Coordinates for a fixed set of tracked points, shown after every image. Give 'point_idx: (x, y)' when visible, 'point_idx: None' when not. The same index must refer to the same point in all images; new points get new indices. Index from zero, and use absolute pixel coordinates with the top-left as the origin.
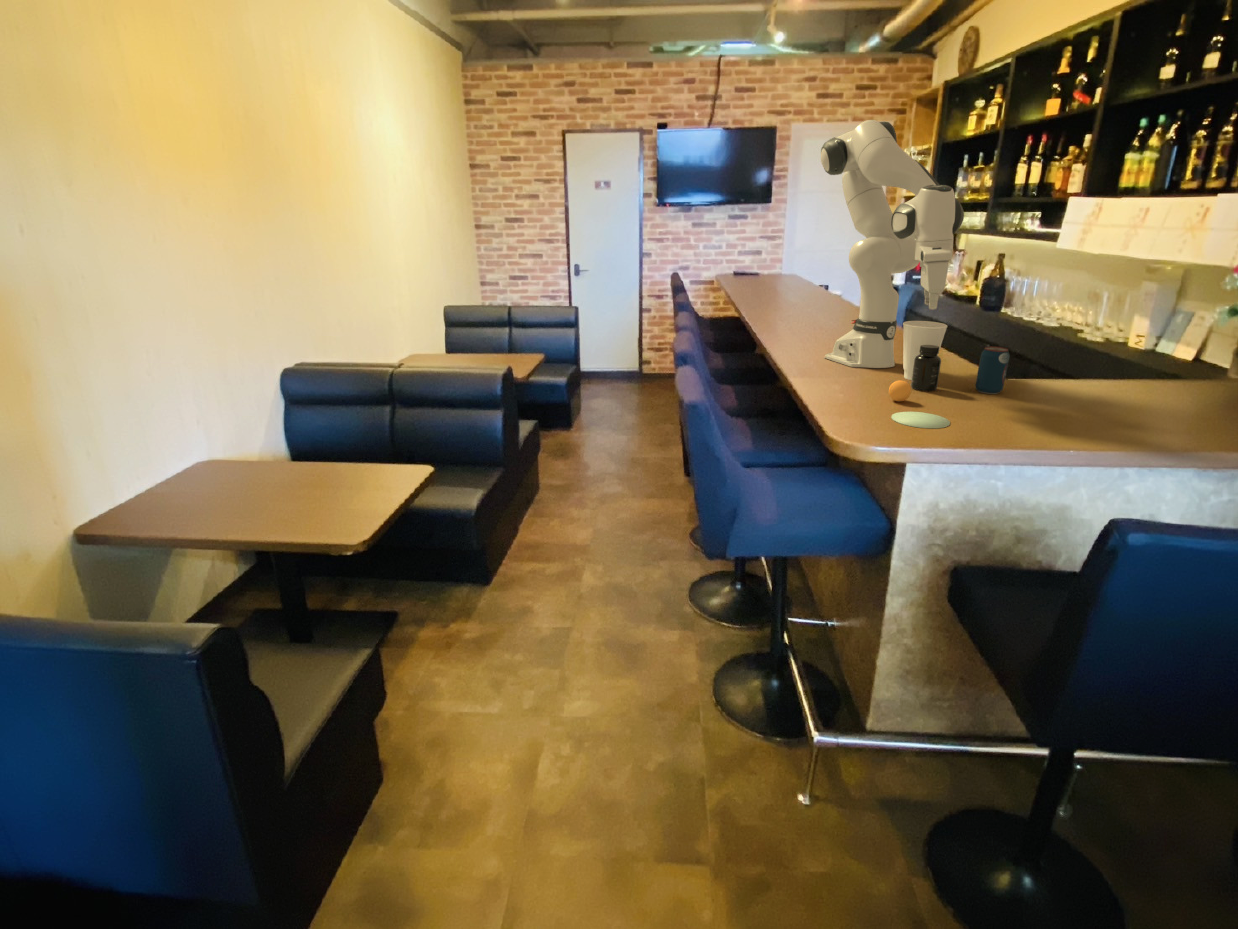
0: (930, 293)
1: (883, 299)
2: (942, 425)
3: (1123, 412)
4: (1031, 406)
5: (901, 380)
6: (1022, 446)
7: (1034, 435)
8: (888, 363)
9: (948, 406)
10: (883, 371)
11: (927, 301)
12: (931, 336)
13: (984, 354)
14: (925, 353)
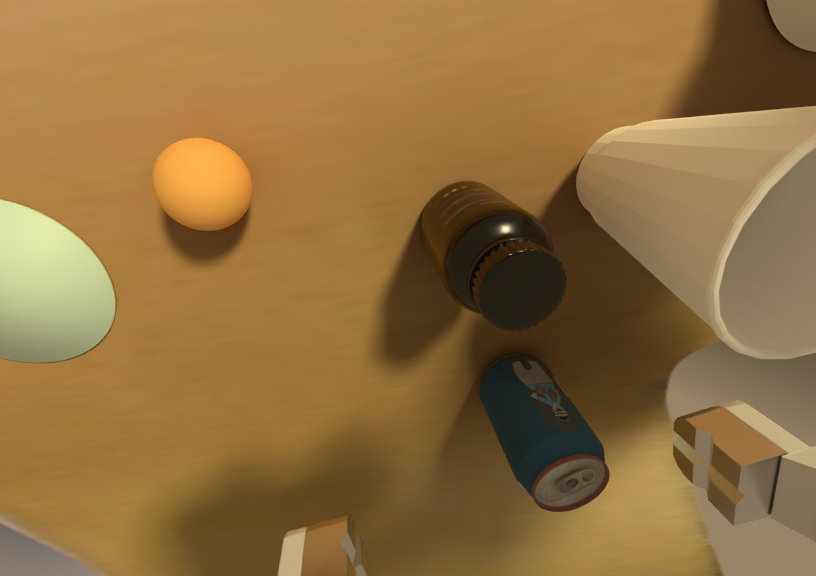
0: None
1: None
2: (2, 351)
3: (440, 565)
4: (398, 465)
5: (194, 196)
6: (5, 501)
7: (128, 502)
8: (800, 25)
9: (265, 324)
10: (713, 19)
11: (710, 454)
12: (679, 284)
13: (538, 447)
14: (469, 271)
